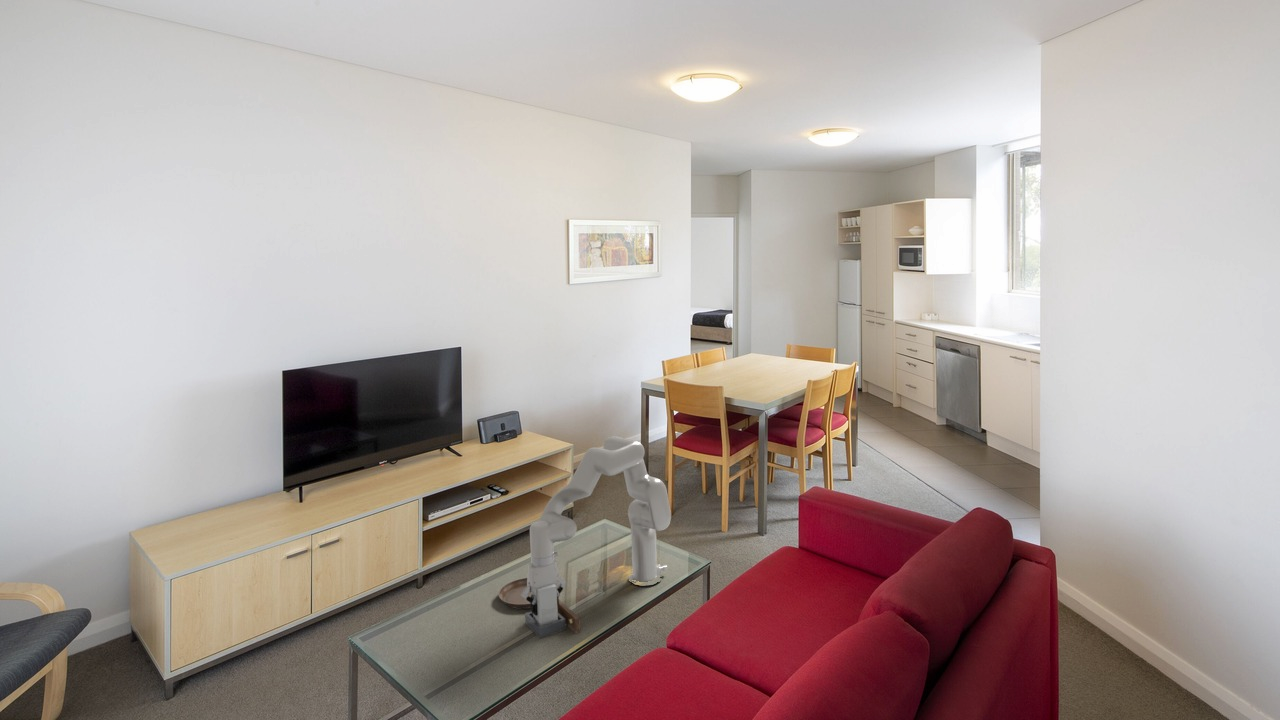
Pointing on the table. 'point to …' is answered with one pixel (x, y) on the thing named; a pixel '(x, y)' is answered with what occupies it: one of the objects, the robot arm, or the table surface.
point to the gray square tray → (547, 628)
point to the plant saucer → (515, 594)
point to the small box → (546, 605)
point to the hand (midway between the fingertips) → (545, 610)
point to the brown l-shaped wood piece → (569, 617)
